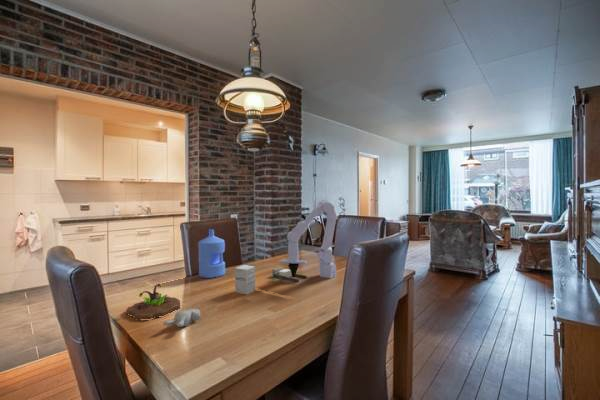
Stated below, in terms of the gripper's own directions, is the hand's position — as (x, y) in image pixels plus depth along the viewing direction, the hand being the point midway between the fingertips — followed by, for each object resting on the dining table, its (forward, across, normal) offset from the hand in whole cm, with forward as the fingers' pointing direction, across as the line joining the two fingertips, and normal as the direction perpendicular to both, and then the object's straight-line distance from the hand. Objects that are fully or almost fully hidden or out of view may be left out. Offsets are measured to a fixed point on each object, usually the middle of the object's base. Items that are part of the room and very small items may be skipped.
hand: (294, 276), depth 161 cm
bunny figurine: (+2, +26, +60) cm, 66 cm away
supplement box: (+2, +19, +22) cm, 29 cm away
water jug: (+2, +53, 0) cm, 53 cm away
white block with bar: (+1, +7, 0) cm, 7 cm away
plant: (+3, +47, +52) cm, 70 cm away
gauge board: (+2, +3, 0) cm, 4 cm away
